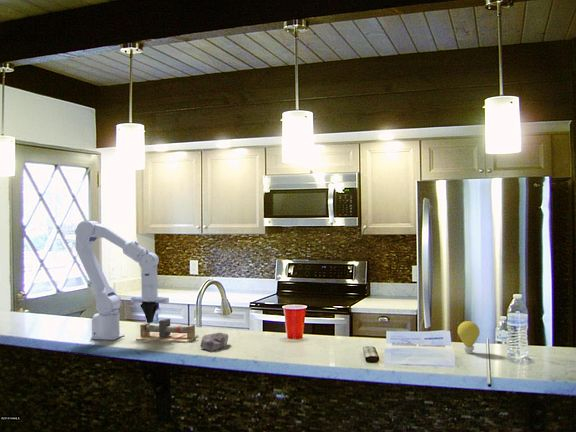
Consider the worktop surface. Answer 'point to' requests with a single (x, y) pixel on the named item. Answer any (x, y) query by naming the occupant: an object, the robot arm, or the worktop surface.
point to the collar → (163, 327)
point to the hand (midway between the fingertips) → (149, 322)
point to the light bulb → (468, 335)
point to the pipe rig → (148, 328)
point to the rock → (214, 341)
